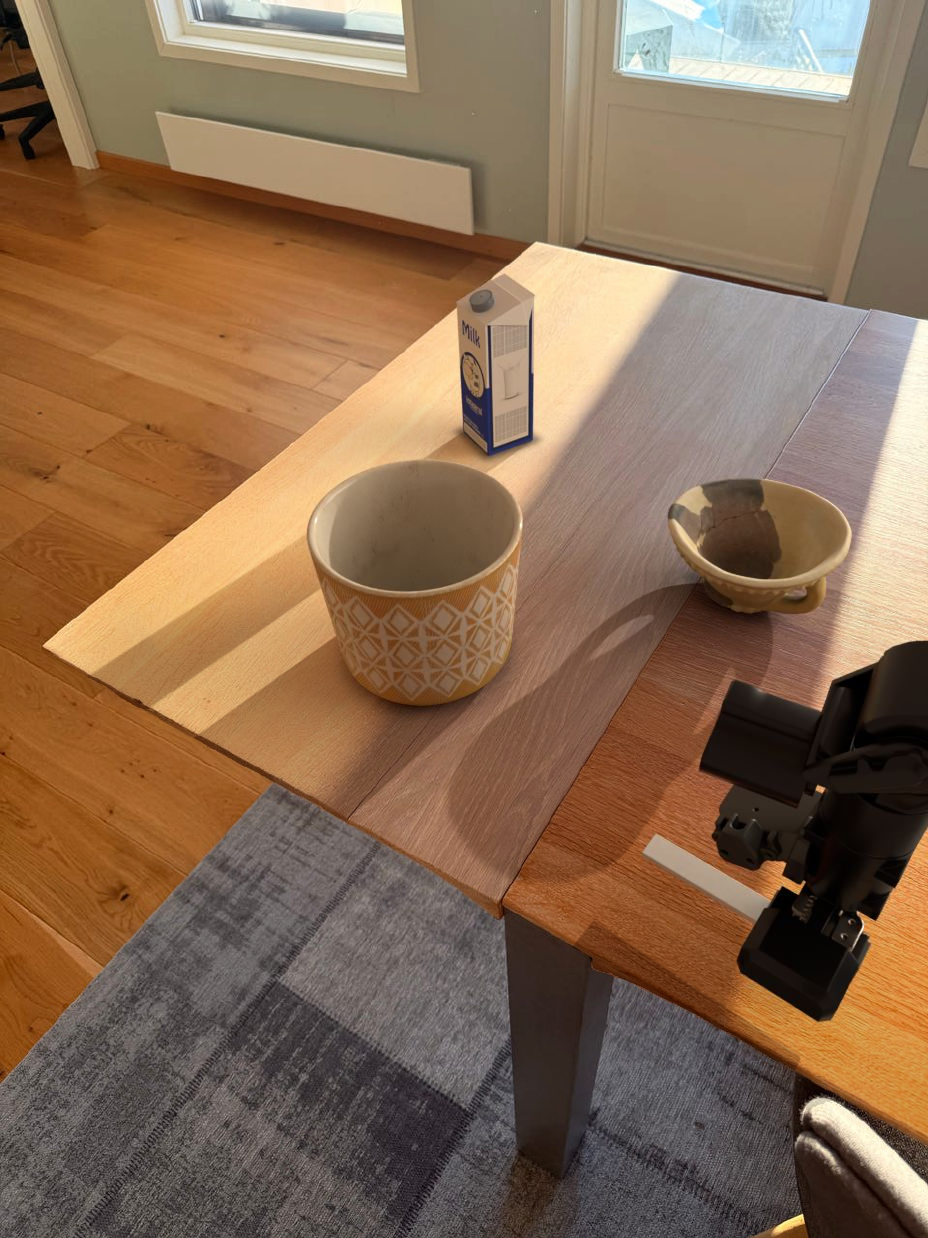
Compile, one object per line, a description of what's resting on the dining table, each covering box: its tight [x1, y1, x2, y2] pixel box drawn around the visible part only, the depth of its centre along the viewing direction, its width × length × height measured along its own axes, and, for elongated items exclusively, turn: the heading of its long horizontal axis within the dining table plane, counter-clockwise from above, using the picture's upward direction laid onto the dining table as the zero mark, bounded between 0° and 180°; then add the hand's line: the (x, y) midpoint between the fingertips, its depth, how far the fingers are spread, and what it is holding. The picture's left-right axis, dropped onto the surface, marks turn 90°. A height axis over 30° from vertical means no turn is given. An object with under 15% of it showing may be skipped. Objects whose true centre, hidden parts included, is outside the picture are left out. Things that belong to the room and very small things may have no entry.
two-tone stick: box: [641, 833, 872, 983], centre depth 68 cm, size 17×2×2 cm, turn 52°
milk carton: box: [455, 273, 536, 457], centre depth 112 cm, size 7×7×20 cm
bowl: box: [667, 477, 853, 615], centre depth 93 cm, size 18×18×10 cm
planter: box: [306, 459, 524, 707], centre depth 87 cm, size 19×19×16 cm
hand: (813, 936), depth 66 cm, fingers closed on two-tone stick, 2 cm apart
